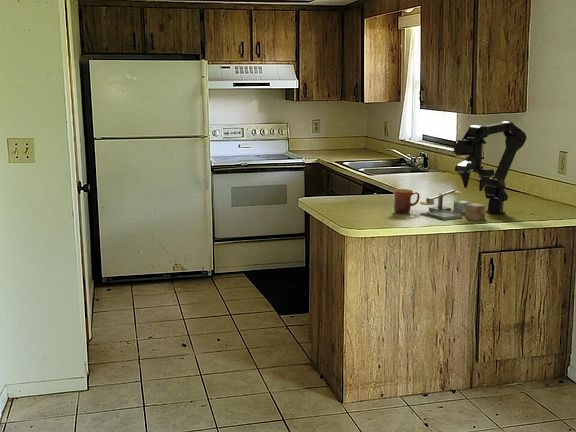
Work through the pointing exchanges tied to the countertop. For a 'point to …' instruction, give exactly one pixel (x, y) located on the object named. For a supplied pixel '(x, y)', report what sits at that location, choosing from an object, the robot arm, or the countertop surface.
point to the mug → (403, 200)
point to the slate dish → (444, 215)
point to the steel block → (460, 206)
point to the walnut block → (474, 211)
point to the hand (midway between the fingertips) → (473, 189)
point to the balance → (439, 201)
